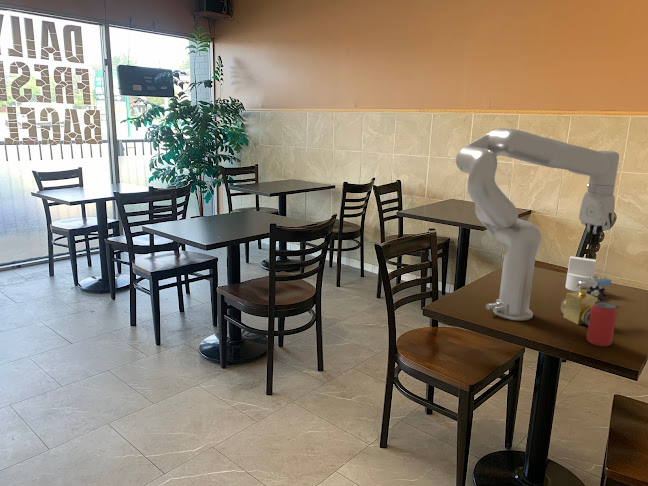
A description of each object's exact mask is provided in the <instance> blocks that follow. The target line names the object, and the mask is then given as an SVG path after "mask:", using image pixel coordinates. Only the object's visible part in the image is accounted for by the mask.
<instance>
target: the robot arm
mask: <svg viewBox="0 0 648 486" xmlns="http://www.w3.org/2000/svg"><path fill="white" fill-rule="evenodd" d="M499 156H501V157H507V158H510V159H514V160H519V161H522V162H526V163H530V164H534V165H537V166H541V167H545V168H546V167H547V168H550V169H551V168H552V169H559V170H560V169H561V170H566V171H568V172H570V173H572V174H576V175H583V176H588V177H589V178H588V179H589V180H588V184H587V185H586V188H587V191H586V192H584V195H583V197H582V201H581V205H580V209H579V213H578V214H579V215H578V220H579V221H580V222H581V224H582V225H584V226H585V227H586V232H587V233H588V235H587V240H586V244H587V245H589V246H597V245H599V241H600V235H601V234H603V232H604V231H610V230H611V225H613V223H614V217H615V205H616V203H615V195H614V193H615V186H616V182H617V181H616V179H617V173H618V167H619V161H620V154H619V153H618V152H616V151H611V150H594V149H590V148H586V147H582V146H580V145H575V144H571V143H567V142H564V141H560V140H557V139H554V138H549V137H546V136H545V137H544V136H541V135H539V134H538V135H537V134H534V133H531V132H528V131H524V130H520V129H515V128H504V127H503V128H502V127H501V128H497V129H493V130H491V131H489V132H488V133H486V134H484V135H482V136H481V137H478V138H477V139H476V140H474V141H472V142H470V143H468V144H467V145H465V146H463V147H462V148H461V149H460V150H459V151H458V153H457V154H456V157H455V165H456V167H457V168H458V169H459V171H461V172H462V173H465V174H468V177H467V193H468V195H469V197H470V199H471V200H472V201H473V203H474V204H475V207H474V213H475V216H476V218H477V219H478V220H479V221H480V223H481V224H482V225H483V226H484V228H486V229H487V231H489V233H490V234H491V235H492V236H493V237H494V238H495V239H496V240H497V241H499V242H500V243H503V244H505V245H507V246H508V249H507V250H506V253H505V255H504V258H503V260H502V261H503V263H502V269H501V270H502V272H501V281H500V287H499V298H497V299H496V300H495V302H493V303H486V305H485V309H487V310H492V312H493V313H494V314H495V315H496V316H497V317H500V318H502V319H507V320H511V321H528V320H530V319H532V318H533V316H534V312H533V311H532V310H531V309H530V308H529V307H530V302H531V301H530V300H531V294H532V288H533V287H532V286H533V277H534V271H535V270H534V269H535V262H536V258H537V254H538V250H539V248H540V245H541V242H542V234H541V232H540V229H539V228H538V226H537V225H535V224H533V223H532V222H530V221H527V220H525V219H521V218H519V212H518V210H517V209H518V208H517V207H516V205H515V204H514V203H513V202H512V201H511V199H509V198H508V197H507V195H505V193H504V192H503V191H502V190H501V188H500V187H499V185H497V182H496V180H495V178H496V177H495V176H496V173H497V168H498V158H497V157H499Z"/></svg>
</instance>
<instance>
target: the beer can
mask: <svg viewBox="0 0 648 486" xmlns="http://www.w3.org/2000/svg"><path fill="white" fill-rule="evenodd" d="M616 308H617V307H616V305H615V304H614V303H611V302H609V301H608V302H607V301H604V300H603V301H600V300H598V301H597V302H595V303H594V305H593V307H592V309H591V314H590V320H589V326H588V325H587V326H588V327H587V332H586V341H587V342H588V343H590V344H591V345H593V346H597V347H609V346H611V345H612V342H613V338H614V332H615V327H616V326H615V325H616V320H617V309H616Z"/></svg>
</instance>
